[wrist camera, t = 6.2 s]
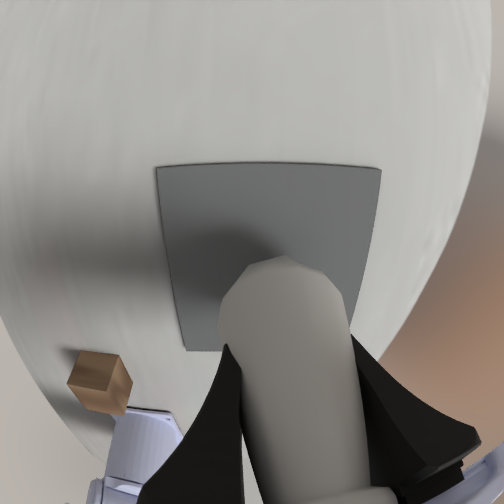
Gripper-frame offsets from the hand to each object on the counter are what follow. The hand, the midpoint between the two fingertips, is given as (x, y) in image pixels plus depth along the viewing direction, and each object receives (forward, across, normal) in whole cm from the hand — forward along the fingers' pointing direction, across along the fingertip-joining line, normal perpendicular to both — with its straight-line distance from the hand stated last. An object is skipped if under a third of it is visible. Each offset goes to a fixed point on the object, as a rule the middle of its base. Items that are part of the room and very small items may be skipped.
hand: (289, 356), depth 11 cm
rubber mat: (+7, 0, 0) cm, 7 cm away
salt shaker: (+4, 0, 0) cm, 4 cm away
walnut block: (+7, +14, +10) cm, 19 cm away
